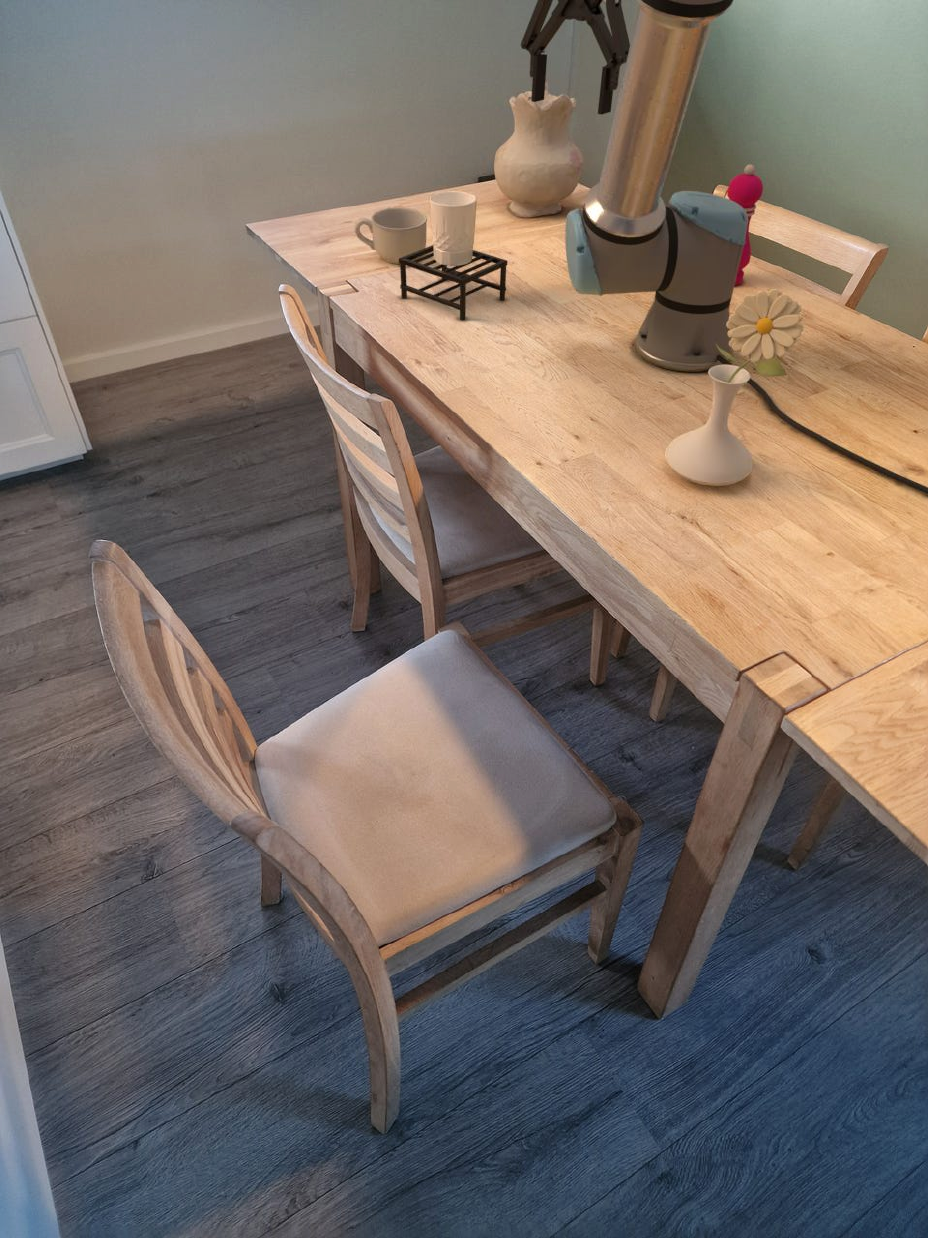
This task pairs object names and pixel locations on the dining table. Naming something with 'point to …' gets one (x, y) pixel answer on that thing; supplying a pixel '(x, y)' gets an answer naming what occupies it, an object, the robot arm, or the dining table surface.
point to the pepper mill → (745, 207)
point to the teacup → (395, 232)
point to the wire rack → (453, 277)
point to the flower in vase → (737, 388)
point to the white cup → (453, 227)
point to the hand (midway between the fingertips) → (570, 106)
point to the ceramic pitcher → (539, 155)
